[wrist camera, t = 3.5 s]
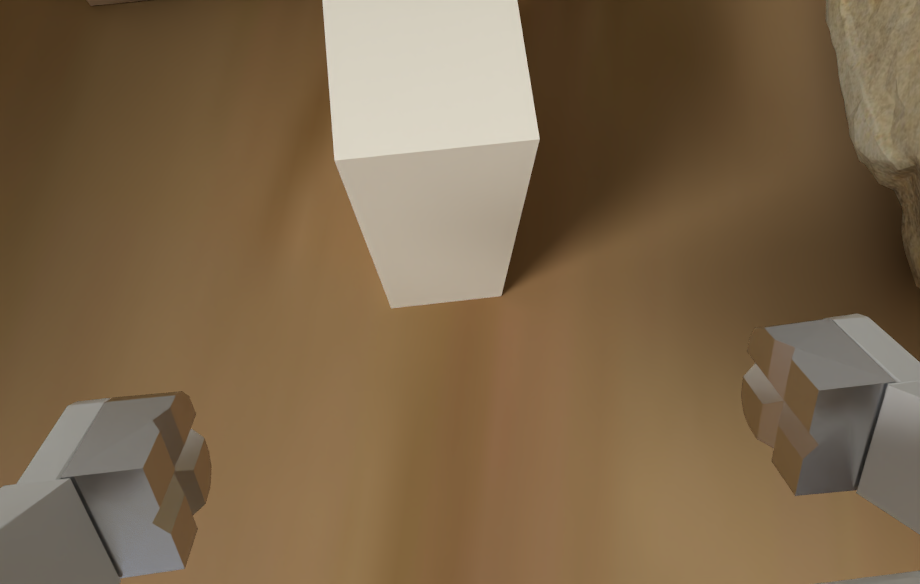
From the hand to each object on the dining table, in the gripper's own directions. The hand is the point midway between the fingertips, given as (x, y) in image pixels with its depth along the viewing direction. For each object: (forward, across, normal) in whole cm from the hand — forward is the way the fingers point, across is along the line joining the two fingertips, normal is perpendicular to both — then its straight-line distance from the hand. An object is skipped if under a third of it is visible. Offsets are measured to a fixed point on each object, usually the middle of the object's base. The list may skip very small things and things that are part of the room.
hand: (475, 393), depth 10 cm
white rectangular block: (+16, 0, +4) cm, 17 cm away
